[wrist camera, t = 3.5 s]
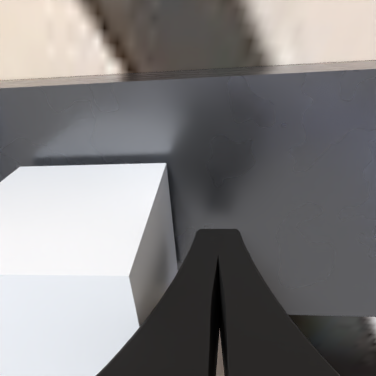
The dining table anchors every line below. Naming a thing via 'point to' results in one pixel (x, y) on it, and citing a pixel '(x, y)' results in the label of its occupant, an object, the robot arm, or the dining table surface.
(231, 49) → the dining table surface
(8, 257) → the white rectangular block
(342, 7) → the dining table surface
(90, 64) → the dining table surface
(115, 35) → the dining table surface
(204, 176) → the gauge base
